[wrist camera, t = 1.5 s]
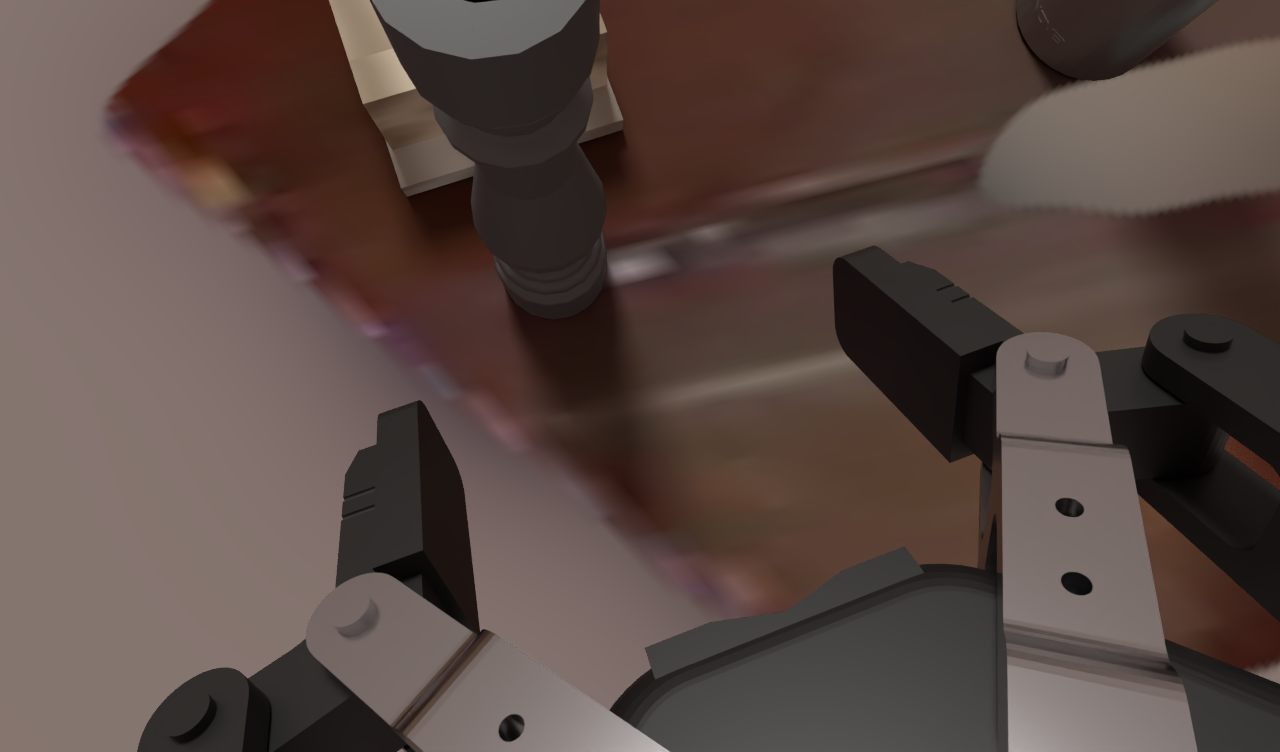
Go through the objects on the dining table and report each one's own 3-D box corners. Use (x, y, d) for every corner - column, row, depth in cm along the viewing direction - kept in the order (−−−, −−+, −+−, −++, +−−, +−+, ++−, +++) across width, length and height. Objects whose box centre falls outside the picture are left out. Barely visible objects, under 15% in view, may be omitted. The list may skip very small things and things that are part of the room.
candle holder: (628, 271, 41) (663, -41, 17) (550, 341, 40) (466, 122, 16) (557, 198, 42) (489, -212, 17) (479, 265, 41) (288, -63, 16)
